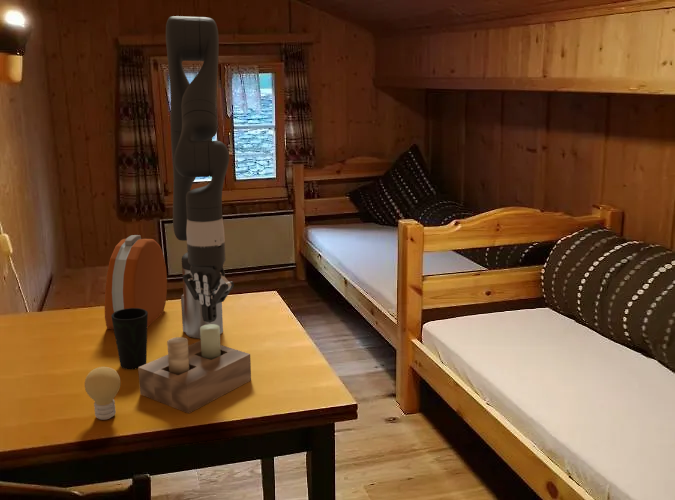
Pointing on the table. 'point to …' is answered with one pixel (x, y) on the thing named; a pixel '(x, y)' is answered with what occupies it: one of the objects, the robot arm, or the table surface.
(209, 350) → the peg sage
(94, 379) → the light bulb
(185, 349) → the peg birch
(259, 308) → the table surface
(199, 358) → the socket block
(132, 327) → the cup
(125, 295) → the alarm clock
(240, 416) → the table surface
